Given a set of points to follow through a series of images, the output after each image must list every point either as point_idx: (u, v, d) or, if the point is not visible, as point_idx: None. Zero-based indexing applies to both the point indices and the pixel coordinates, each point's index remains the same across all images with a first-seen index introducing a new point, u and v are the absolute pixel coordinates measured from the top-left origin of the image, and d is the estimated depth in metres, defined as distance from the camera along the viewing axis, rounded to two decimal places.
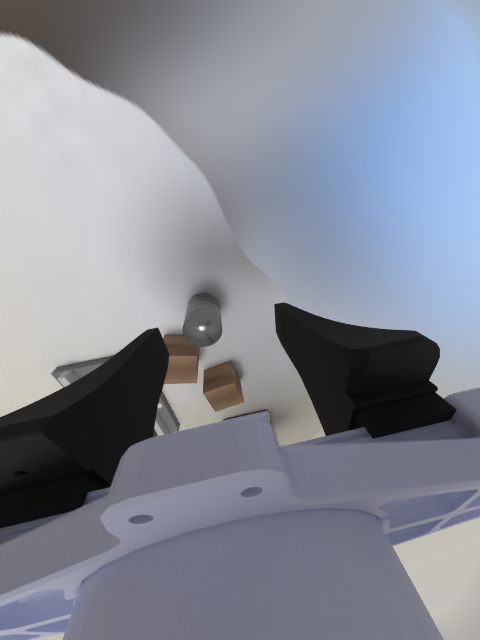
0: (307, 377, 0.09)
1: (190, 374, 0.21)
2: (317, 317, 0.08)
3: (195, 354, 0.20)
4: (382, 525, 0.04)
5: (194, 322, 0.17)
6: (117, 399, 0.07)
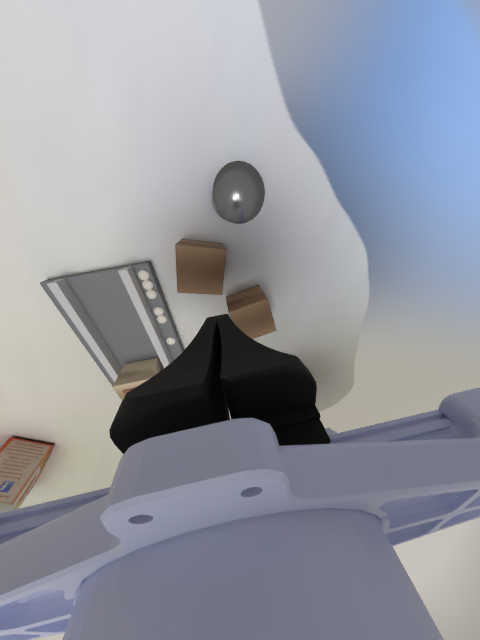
0: None
1: (215, 280, 0.17)
2: (239, 333, 0.08)
3: (223, 249, 0.16)
4: (382, 525, 0.04)
5: (229, 177, 0.13)
6: (215, 378, 0.07)
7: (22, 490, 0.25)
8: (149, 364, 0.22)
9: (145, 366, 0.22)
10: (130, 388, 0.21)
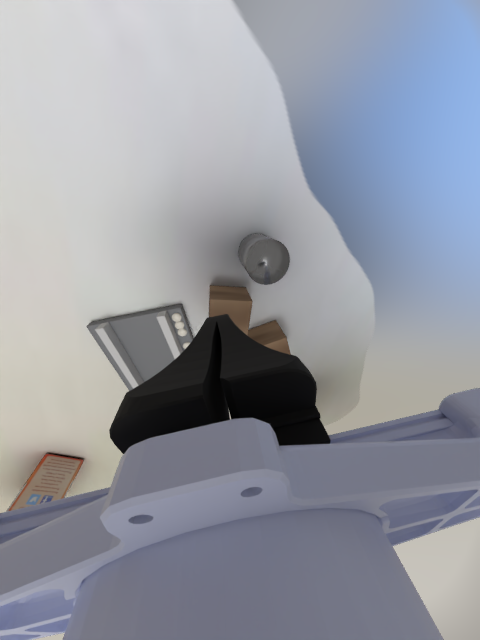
0: None
1: (242, 324, 0.19)
2: (239, 333, 0.08)
3: (250, 300, 0.18)
4: (382, 525, 0.04)
5: (261, 251, 0.15)
6: (215, 378, 0.07)
7: None
8: None
9: None
10: None
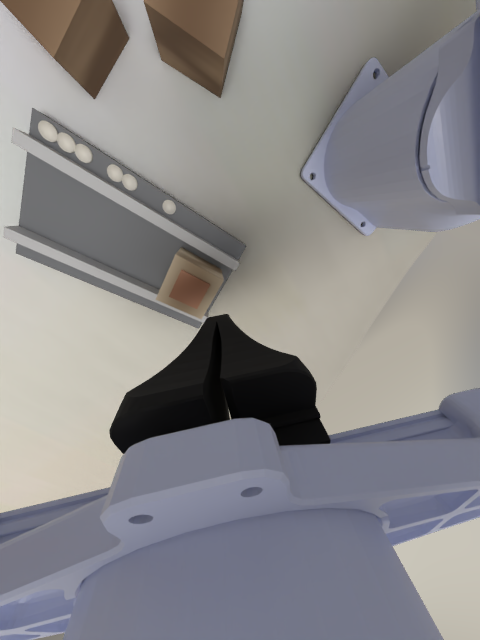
0: None
1: None
2: (239, 333, 0.08)
3: None
4: (382, 525, 0.04)
5: None
6: (215, 378, 0.07)
7: None
8: None
9: None
10: (172, 286, 0.15)
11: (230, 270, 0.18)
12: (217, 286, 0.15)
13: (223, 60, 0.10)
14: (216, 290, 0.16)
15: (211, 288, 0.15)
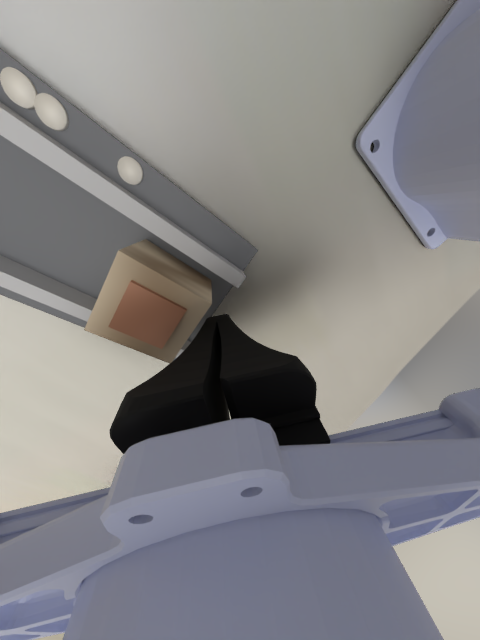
0: None
1: None
2: (239, 333, 0.08)
3: None
4: (382, 525, 0.04)
5: None
6: (215, 378, 0.07)
7: None
8: None
9: None
10: (115, 310, 0.08)
11: (230, 285, 0.12)
12: (199, 313, 0.09)
13: None
14: (197, 319, 0.09)
15: (188, 315, 0.09)
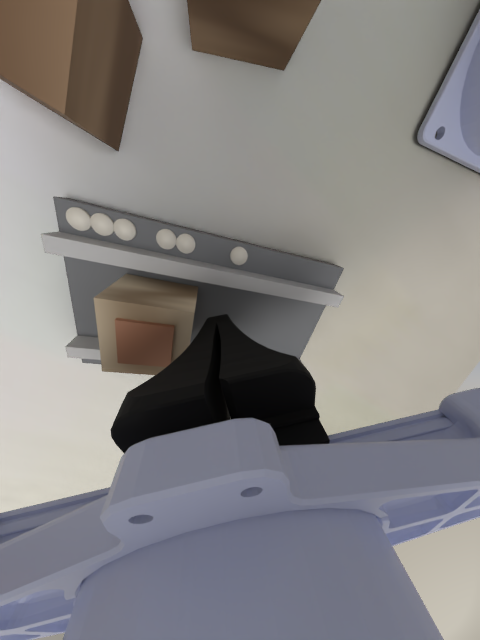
0: None
1: None
2: (239, 333, 0.08)
3: None
4: (382, 525, 0.04)
5: None
6: (216, 378, 0.07)
7: None
8: None
9: None
10: (117, 347, 0.09)
11: (324, 304, 0.14)
12: (188, 325, 0.09)
13: None
14: (189, 331, 0.09)
15: (179, 330, 0.09)
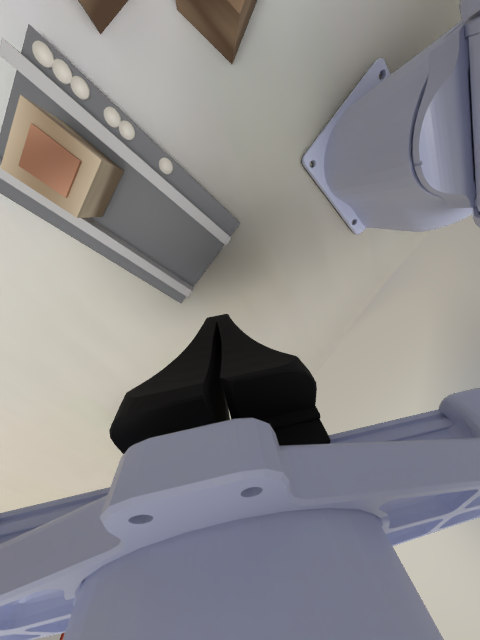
0: None
1: None
2: (239, 333, 0.08)
3: None
4: (382, 525, 0.04)
5: None
6: (215, 378, 0.07)
7: None
8: None
9: None
10: (23, 151, 0.11)
11: (221, 246, 0.18)
12: (93, 168, 0.12)
13: (238, 16, 0.10)
14: (92, 174, 0.12)
15: (84, 168, 0.12)
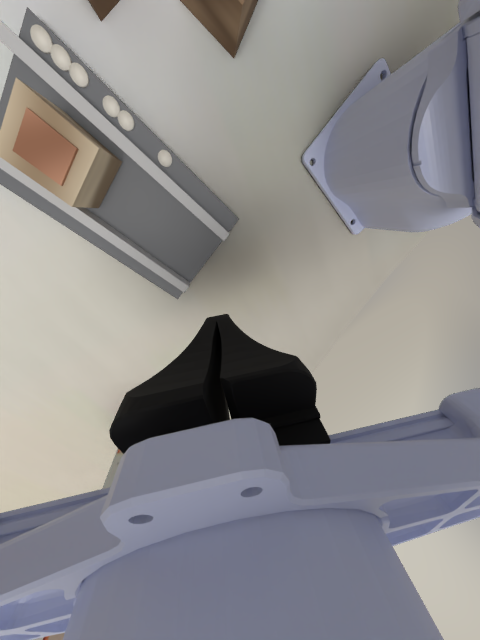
0: None
1: None
2: (239, 333, 0.08)
3: None
4: (382, 525, 0.04)
5: None
6: (215, 378, 0.07)
7: None
8: None
9: None
10: (18, 136, 0.11)
11: (219, 241, 0.18)
12: (90, 156, 0.11)
13: (241, 7, 0.10)
14: (89, 163, 0.12)
15: (81, 156, 0.11)
